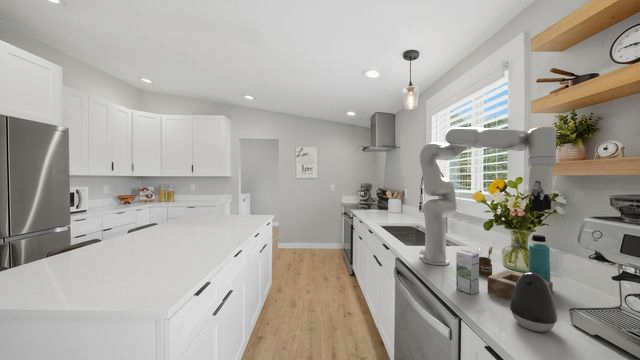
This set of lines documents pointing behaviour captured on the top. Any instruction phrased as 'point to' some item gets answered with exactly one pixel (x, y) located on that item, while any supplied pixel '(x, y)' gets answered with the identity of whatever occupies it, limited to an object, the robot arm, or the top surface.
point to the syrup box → (467, 271)
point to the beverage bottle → (539, 258)
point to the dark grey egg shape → (533, 303)
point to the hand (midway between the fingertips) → (541, 210)
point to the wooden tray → (506, 284)
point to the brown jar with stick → (485, 265)
